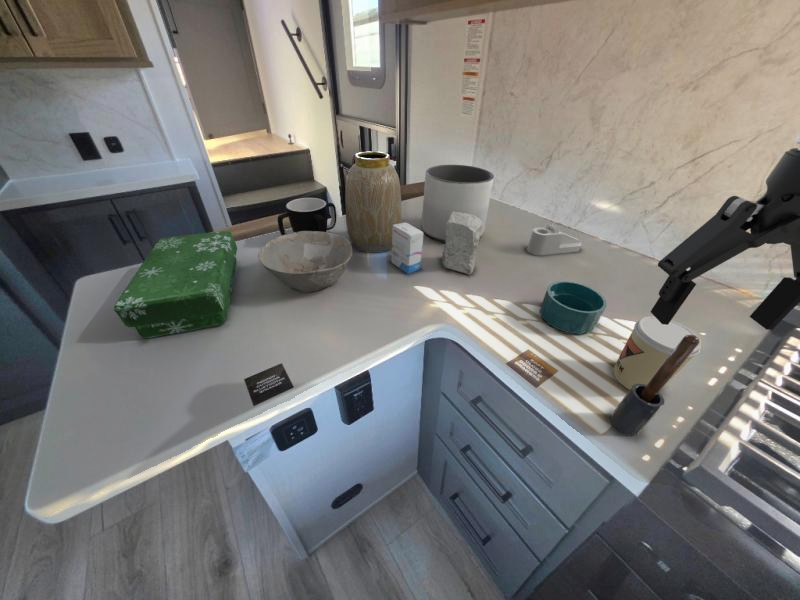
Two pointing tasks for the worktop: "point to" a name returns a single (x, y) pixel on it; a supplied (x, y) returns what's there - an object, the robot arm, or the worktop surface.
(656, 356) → the coffee cup
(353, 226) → the vase
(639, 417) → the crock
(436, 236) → the planter
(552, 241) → the grey mounting bracket
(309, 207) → the mug
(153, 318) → the box
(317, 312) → the worktop surface
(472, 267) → the decorative stone
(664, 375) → the stick
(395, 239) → the ink box
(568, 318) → the teal bowl
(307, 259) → the ceramic bowl
